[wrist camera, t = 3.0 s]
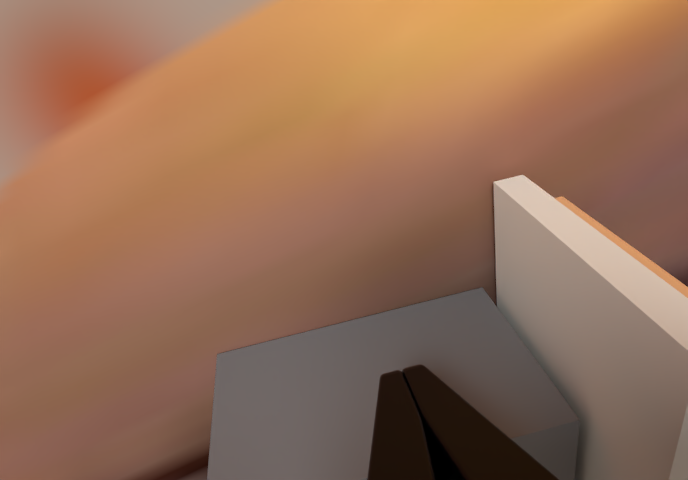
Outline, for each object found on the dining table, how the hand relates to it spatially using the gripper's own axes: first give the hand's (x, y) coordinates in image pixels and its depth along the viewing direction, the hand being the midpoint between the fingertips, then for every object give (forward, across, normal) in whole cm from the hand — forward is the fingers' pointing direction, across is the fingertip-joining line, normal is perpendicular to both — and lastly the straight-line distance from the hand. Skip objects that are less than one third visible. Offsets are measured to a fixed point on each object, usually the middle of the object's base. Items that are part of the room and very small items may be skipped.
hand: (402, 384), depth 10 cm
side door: (+4, -4, +6) cm, 9 cm away
